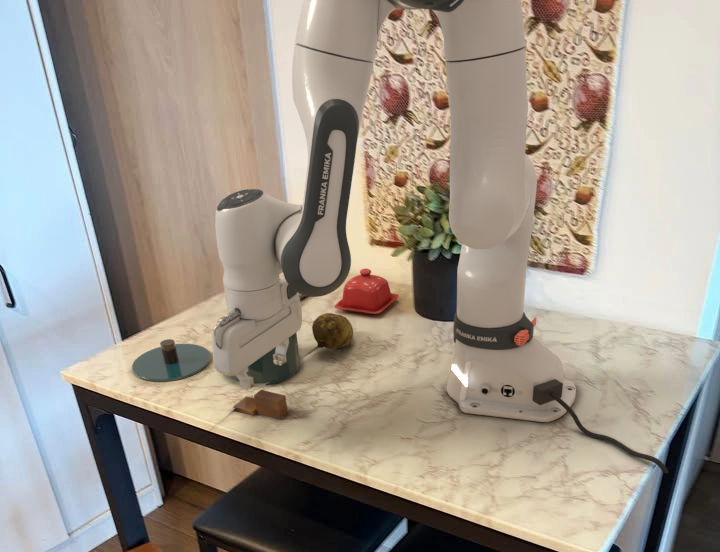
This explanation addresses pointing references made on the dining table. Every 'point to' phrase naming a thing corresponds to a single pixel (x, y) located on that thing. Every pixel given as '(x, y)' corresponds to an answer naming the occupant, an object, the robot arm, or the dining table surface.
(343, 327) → the potato
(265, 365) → the pot
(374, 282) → the butter dish
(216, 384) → the dining table surface
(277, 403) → the brown stepped bar
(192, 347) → the lid
